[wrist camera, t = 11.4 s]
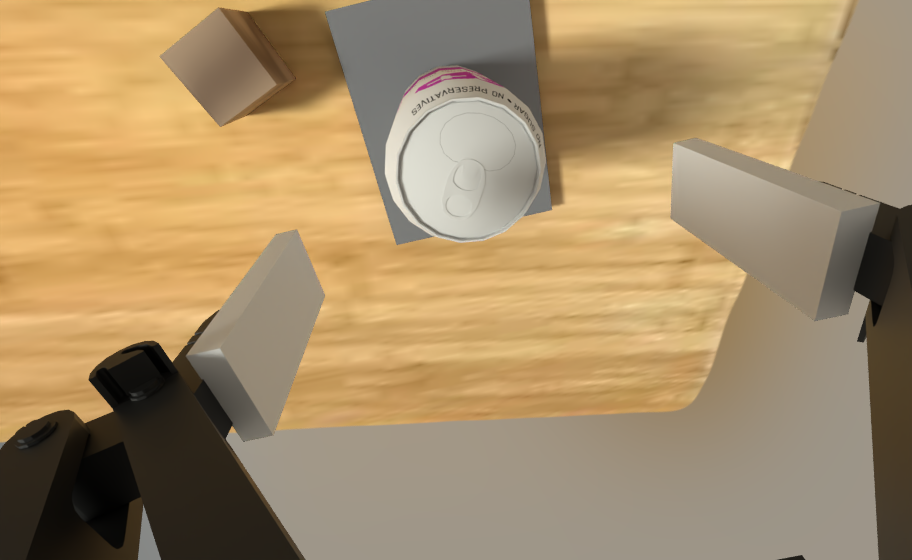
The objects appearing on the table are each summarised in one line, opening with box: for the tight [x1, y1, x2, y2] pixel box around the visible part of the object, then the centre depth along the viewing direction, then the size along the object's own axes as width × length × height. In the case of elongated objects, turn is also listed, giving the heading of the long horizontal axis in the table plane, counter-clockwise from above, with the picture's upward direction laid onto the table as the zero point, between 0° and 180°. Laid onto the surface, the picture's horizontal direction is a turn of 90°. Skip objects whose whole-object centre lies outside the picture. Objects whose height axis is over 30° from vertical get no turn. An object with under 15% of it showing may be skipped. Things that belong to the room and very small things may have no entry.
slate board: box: [325, 0, 552, 245], centre depth 34 cm, size 18×14×1 cm
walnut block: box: [159, 8, 296, 127], centre depth 30 cm, size 5×5×5 cm
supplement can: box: [385, 65, 546, 243], centre depth 27 cm, size 8×8×15 cm
